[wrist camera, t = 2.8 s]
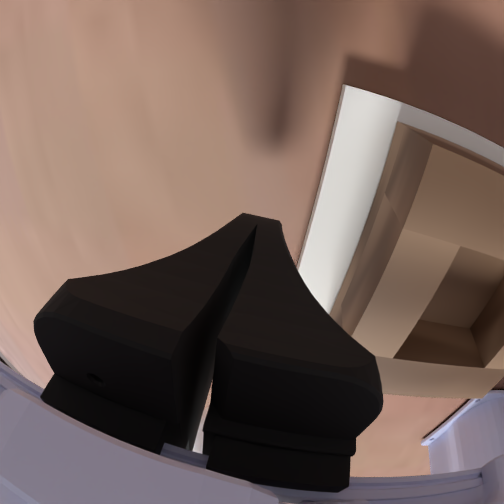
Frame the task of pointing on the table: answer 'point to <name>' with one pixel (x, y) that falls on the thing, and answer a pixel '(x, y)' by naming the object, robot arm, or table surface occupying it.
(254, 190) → the table surface
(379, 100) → the backstop board
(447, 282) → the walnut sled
